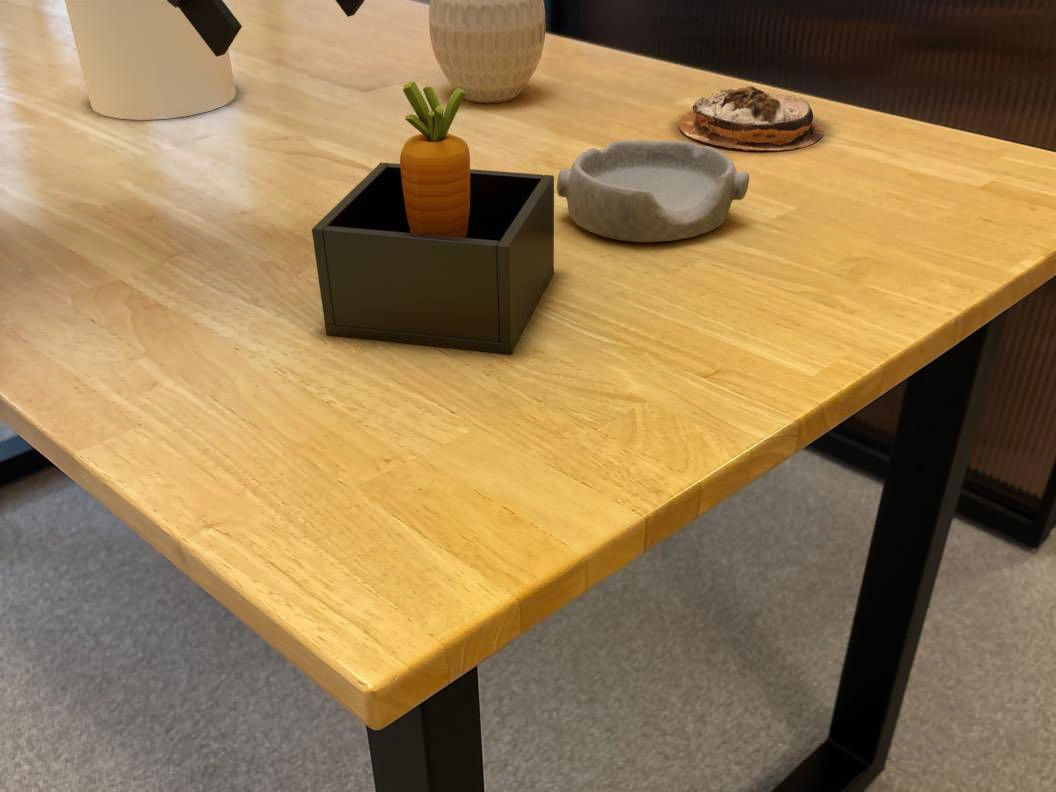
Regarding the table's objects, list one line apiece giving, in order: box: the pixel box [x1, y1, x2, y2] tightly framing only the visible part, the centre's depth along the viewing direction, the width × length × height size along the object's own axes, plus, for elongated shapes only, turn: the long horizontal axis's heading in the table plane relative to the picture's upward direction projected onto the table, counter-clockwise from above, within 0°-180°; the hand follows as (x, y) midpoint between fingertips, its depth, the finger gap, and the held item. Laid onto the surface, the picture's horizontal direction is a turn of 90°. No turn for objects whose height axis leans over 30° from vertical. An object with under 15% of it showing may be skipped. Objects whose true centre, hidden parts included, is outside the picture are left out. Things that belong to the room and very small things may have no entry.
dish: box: [556, 140, 750, 243], centre depth 93 cm, size 14×14×5 cm
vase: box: [428, 0, 547, 104], centre depth 119 cm, size 13×13×17 cm
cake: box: [678, 85, 825, 152], centre depth 112 cm, size 15×15×4 cm
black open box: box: [311, 162, 555, 355], centre depth 78 cm, size 14×14×8 cm
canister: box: [64, 0, 237, 121], centre depth 117 cm, size 16×16×20 cm
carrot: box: [399, 80, 471, 238], centre depth 76 cm, size 5×5×15 cm
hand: (299, 22), depth 74 cm, fingers open, 13 cm apart
